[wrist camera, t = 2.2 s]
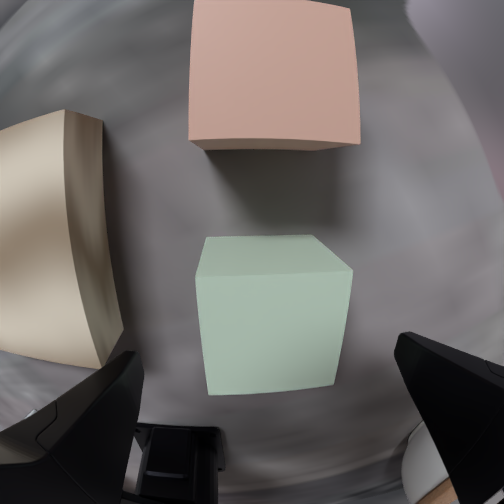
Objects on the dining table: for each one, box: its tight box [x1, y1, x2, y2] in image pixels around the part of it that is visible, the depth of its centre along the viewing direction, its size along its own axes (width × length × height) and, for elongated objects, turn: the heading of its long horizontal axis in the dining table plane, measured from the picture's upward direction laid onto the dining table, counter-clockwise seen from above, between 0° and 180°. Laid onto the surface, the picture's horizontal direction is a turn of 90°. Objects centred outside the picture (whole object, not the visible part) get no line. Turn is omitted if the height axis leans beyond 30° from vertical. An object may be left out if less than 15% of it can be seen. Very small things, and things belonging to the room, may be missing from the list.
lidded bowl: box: [401, 421, 457, 504], centre depth 16 cm, size 13×13×11 cm
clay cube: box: [189, 0, 360, 151], centre depth 9 cm, size 5×5×5 cm
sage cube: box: [195, 235, 353, 395], centre depth 12 cm, size 5×5×5 cm
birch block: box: [0, 109, 124, 369], centre depth 11 cm, size 11×11×4 cm
